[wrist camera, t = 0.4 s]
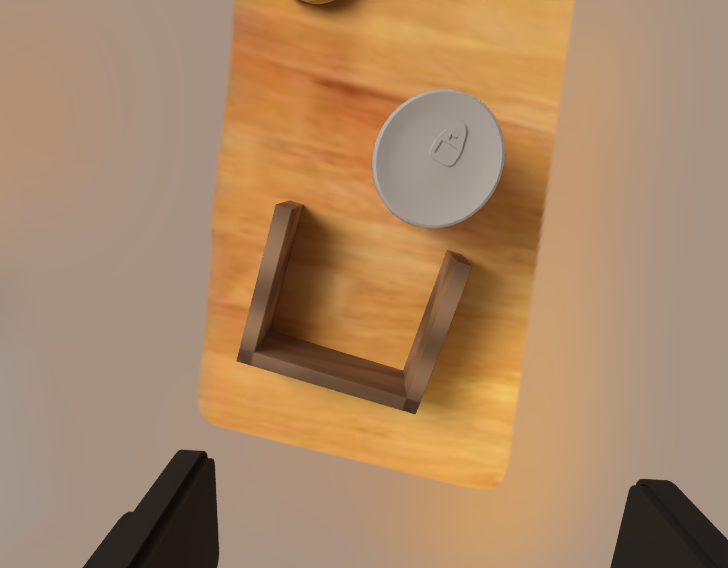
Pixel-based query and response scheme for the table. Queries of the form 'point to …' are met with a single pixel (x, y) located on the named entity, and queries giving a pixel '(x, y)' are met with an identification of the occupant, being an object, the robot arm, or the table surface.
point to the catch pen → (334, 365)
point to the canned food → (438, 158)
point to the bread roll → (317, 1)
